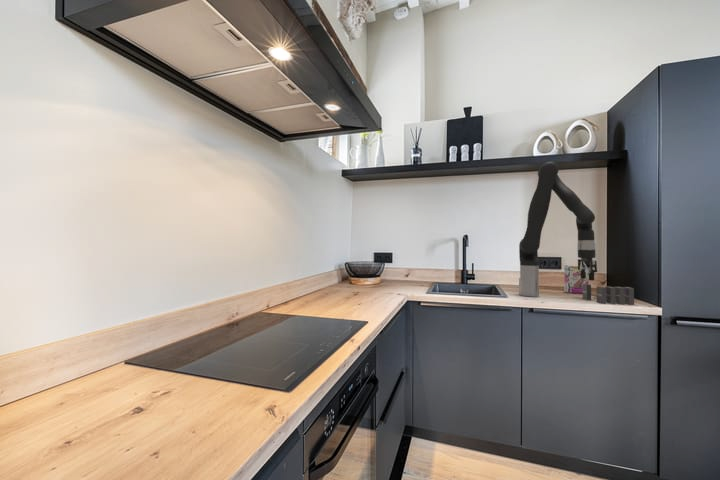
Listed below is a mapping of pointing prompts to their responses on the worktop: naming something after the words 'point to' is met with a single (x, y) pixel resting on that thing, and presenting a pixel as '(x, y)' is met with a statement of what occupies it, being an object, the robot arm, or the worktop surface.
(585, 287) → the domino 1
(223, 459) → the worktop surface
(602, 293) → the domino
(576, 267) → the candy bar box
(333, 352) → the worktop surface
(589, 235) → the robot arm
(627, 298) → the domino
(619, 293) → the domino
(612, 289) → the dark grey bumpy bar
